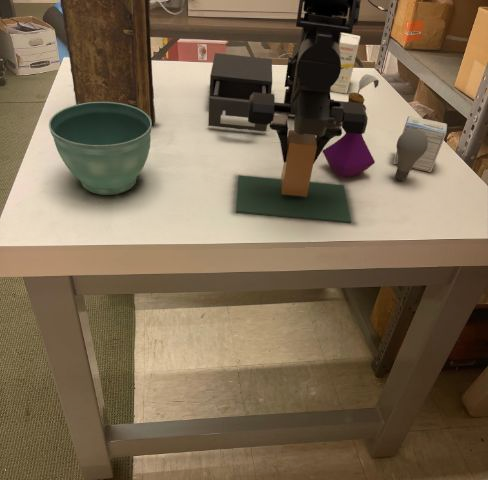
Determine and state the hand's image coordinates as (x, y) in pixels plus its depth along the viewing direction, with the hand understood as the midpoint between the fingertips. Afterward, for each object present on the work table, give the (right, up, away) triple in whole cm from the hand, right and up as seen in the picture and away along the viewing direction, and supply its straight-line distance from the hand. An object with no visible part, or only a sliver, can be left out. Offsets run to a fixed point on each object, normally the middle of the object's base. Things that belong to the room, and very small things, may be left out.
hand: (298, 162), depth 85 cm
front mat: (-1, -5, +4) cm, 7 cm away
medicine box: (+26, +5, +18) cm, 32 cm away
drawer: (-11, +17, +23) cm, 31 cm away
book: (-37, +15, +20) cm, 45 cm away
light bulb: (+22, +1, +13) cm, 25 cm away
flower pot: (-33, -3, +3) cm, 34 cm away
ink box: (+14, +35, +45) cm, 59 cm away
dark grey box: (-10, +26, +33) cm, 43 cm away
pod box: (0, -4, +4) cm, 5 cm away
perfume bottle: (+11, +2, +13) cm, 17 cm away
